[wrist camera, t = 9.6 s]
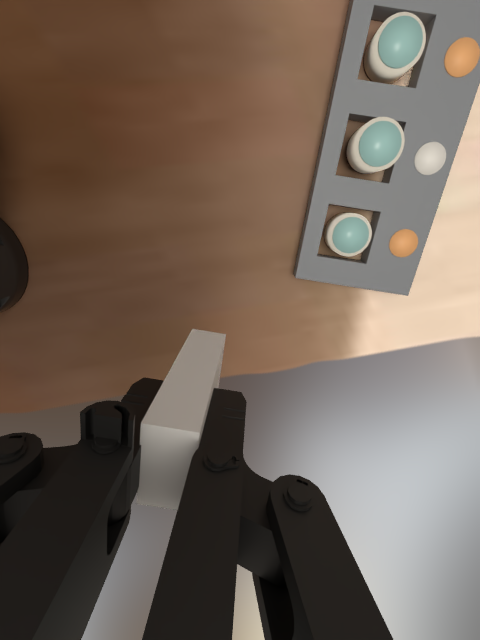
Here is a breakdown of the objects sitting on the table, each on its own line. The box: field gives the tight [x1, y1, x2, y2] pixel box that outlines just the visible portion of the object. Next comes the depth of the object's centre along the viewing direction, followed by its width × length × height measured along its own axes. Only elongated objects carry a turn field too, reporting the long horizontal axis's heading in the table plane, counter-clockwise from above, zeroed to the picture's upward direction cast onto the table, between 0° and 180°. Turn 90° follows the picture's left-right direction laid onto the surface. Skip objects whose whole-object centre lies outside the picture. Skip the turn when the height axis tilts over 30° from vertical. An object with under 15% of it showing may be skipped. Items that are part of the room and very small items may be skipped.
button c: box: [364, 12, 426, 84], centre depth 33 cm, size 5×5×4 cm
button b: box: [347, 117, 405, 174], centre depth 34 cm, size 5×5×4 cm
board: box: [293, 0, 480, 296], centre depth 36 cm, size 14×30×3 cm, turn 172°
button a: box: [324, 213, 372, 256], centre depth 39 cm, size 5×5×4 cm
